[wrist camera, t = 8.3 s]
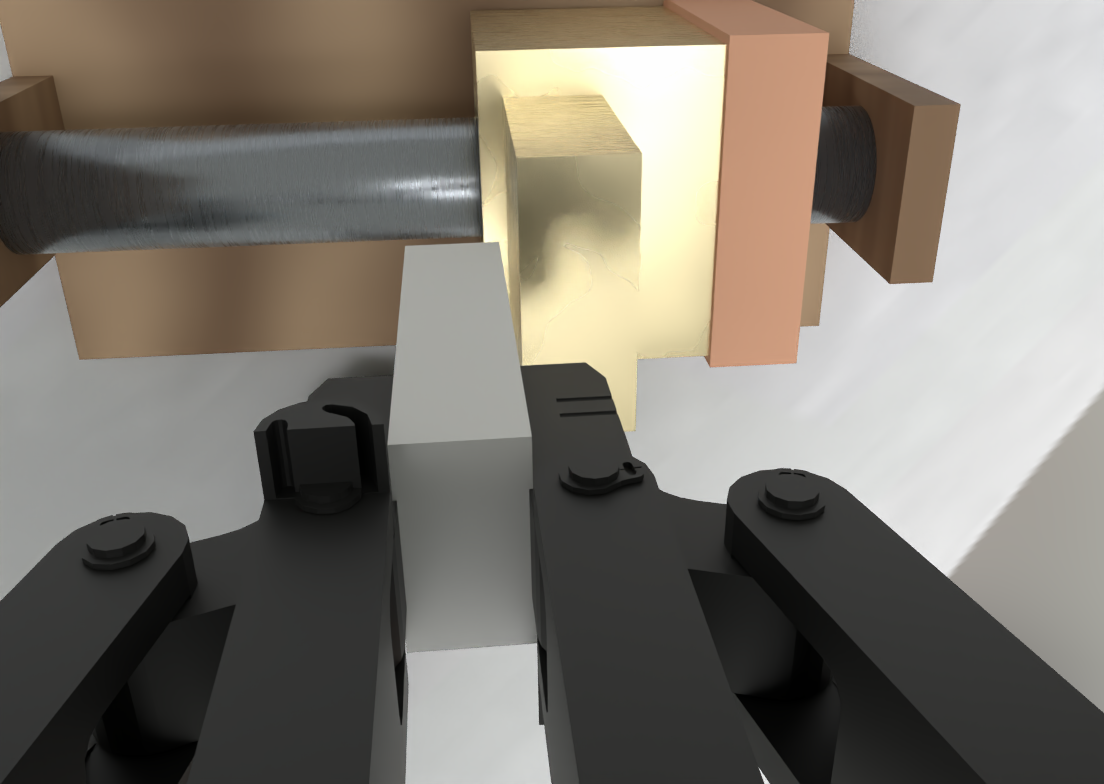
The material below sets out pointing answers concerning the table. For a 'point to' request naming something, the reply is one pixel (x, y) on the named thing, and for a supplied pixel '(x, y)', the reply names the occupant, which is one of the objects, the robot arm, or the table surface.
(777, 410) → the table surface
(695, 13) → the square pink collar
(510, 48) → the sleeve
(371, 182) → the pipe
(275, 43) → the base board
